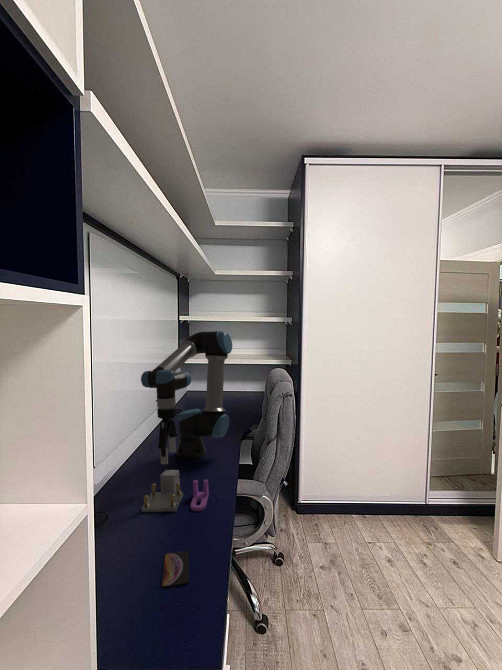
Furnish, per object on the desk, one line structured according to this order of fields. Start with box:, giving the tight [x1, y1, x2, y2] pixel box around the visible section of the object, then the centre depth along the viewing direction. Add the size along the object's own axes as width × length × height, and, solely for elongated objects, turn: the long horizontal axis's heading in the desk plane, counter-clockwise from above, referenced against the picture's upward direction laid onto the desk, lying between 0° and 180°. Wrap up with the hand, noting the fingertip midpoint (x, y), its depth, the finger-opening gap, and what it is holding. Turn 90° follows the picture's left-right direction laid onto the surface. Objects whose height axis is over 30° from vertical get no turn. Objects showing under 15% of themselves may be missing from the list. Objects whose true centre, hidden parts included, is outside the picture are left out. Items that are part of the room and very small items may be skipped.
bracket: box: [190, 479, 210, 512], centre depth 150 cm, size 13×6×7 cm, turn 0°
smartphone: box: [160, 550, 190, 589], centre depth 111 cm, size 8×1×15 cm
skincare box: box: [159, 469, 181, 492], centre depth 163 cm, size 6×6×7 cm
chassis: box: [140, 482, 184, 513], centre depth 151 cm, size 13×13×6 cm
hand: (168, 457), depth 162 cm, fingers open, 13 cm apart
